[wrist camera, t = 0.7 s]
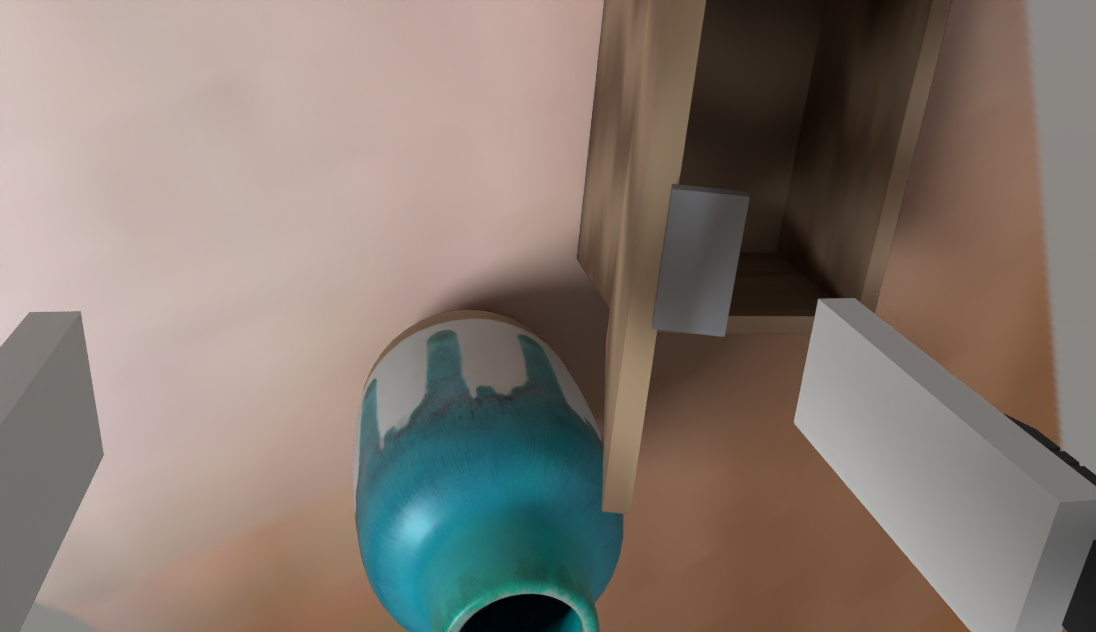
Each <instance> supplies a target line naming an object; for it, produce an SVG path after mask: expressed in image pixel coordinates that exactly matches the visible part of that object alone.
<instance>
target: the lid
mask: <svg viewBox="0 0 1096 632" xmlns="http://www.w3.org/2000/svg"><path fill="white" fill-rule="evenodd" d="M705 4H706V0H648V8H647V16H646V24H645V32H644V40H643V48H642V56H641V64H640V72H639V80H638V89H637V97H636V105H635V113H634V121H633V129H632V137H631V145H630V153H629V161H628V169H627V177H626V185H625V193H624V201H623V209H622V217H621V225H620V233H619V241H618V249H617V257H616V265H615V273H614V282H613V290H612V298H611V306H610V314H609V322H608V330H607V338H606V361H605V404H604V447H603V490H602V511H604V512H613V513H622V514H630V511H631V504H632V498H633V491H634V484H635V477H636V470H637V464H638V457H639V450H640V443H641V437H642V430H643V423H644V416H645V410H646V403H647V396H648V389H649V383H650V376H651V369H652V362H653V356H654V349H655V342H656V335H657V330H665V331H674V332H684V333H693V334H702V335H711V336H721V337H725V332H726V326H727V321H728V315H729V309H730V304H731V298H732V293H733V287H734V282H735V276H736V271H737V265H738V260H739V254H740V248H741V243H742V237H743V232H744V226H745V221H746V215H747V210H748V204H749V199H750V196H749V195H748V193H747V192H746V191H737V190H727V189H717V188H708V187H698V186H688V185H679V180H680V173H681V166H682V160H683V153H684V146H685V139H686V133H687V126H688V119H689V112H690V105H691V99H692V92H693V85H694V78H695V72H696V65H697V58H698V51H699V45H700V38H701V31H702V24H703V18H704V11H705Z"/></svg>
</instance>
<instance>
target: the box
mask: <svg viewBox="0 0 1096 632" xmlns="http://www.w3.org/2000/svg"><path fill="white" fill-rule="evenodd" d="M951 4H952V0H706V4H705V11H704V18H703V24H702V31H701V38H700V45H699V51H698V58H697V65H696V72H695V78H694V85H693V92H692V99H691V105H690V112H689V119H688V126H687V133H686V139H685V146H684V153H683V160H682V166H681V173H680V180H679V185H688V186H698V187H708V188H717V189H727V190H737V191H746V192H747V193H748V195H749V196H750V199H749V204H748V210H747V215H746V221H745V226H744V232H743V237H742V243H741V248H740V254H739V260H738V265H737V271H736V276H735V282H734V287H733V293H732V298H731V304H730V309H729V315H728V321H727V326H726V332H725V334H811V333H812V328H813V323H814V318H815V313H816V308H817V303H818V299H833V298H855V299H856V300H858V301H859V302H860V303H862V304H863V305H864V306H865V307H867V308H868V309H869V310H870V311H872V312H873V313H875V309H876V305H877V301H878V297H879V293H880V289H881V285H882V281H883V277H884V273H885V269H886V265H887V261H888V257H889V253H890V249H891V245H892V241H893V237H894V233H895V229H896V225H897V221H898V217H899V213H900V209H901V205H902V201H903V197H904V193H905V189H906V185H907V181H908V177H909V173H910V169H911V165H912V161H913V156H914V152H915V148H916V144H917V140H918V136H919V132H920V128H921V124H922V120H923V116H924V112H925V108H926V104H927V100H928V96H929V92H930V88H931V84H932V80H933V76H934V72H935V68H936V64H937V60H938V56H939V52H940V48H941V44H942V40H943V36H944V32H945V28H946V24H947V20H948V16H949V12H950V8H951ZM647 8H648V0H604V8H603V18H602V27H601V37H600V46H599V55H598V65H597V74H596V84H595V93H594V103H593V112H592V121H591V131H590V140H589V150H588V159H587V168H586V178H585V187H584V197H583V206H582V215H581V225H580V234H579V244H578V253H577V260H578V261H579V263H580V264H581V266H582V267H583V269H584V271H585V272H586V274H587V275H588V277H589V278H590V280H591V281H592V283H593V284H594V286H595V287H596V289H597V291H598V292H599V294H600V295H601V297H602V298H603V300H604V301H605V303H606V304H607V306H608V307H609V309H610V306H611V298H612V290H613V282H614V273H615V265H616V257H617V249H618V241H619V233H620V225H621V217H622V209H623V201H624V193H625V185H626V177H627V169H628V161H629V153H630V145H631V137H632V129H633V121H634V113H635V105H636V97H637V89H638V80H639V72H640V64H641V56H642V48H643V40H644V32H645V24H646V16H647ZM657 334H693V333H684V332H674V331H665V330H657Z"/></svg>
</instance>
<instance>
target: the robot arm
mask: <svg viewBox="0 0 1096 632" xmlns="http://www.w3.org/2000/svg"><path fill="white" fill-rule="evenodd" d="M794 424H795V425H796V426H797V427H798V428H799V430H800V431H801V432H802V433H803V434H804V435H805V437H806V438H807V439H808V440H809V441H810V442H811V444H812V445H813V446H814V447H815V448H816V450H817V451H818V452H819V453H820V454H821V455H822V457H823V458H824V459H825V460H826V461H827V463H828V464H829V465H830V466H831V467H832V468H833V470H834V471H835V472H836V473H837V474H838V476H839V477H840V478H841V479H842V480H843V481H844V483H845V484H846V485H847V486H848V487H849V488H850V490H851V491H852V492H853V493H854V494H855V496H856V497H857V498H858V499H859V500H860V501H861V503H862V504H863V505H864V506H865V507H866V509H867V510H868V511H869V512H870V513H871V514H872V516H873V517H874V518H875V519H876V520H877V521H878V523H879V524H880V525H881V526H882V527H883V529H884V530H885V531H886V532H887V533H888V534H889V536H890V537H891V538H892V539H893V540H894V542H895V543H896V544H897V545H898V546H899V547H900V549H901V550H902V551H903V552H904V553H905V555H906V556H907V557H908V558H909V559H910V560H911V562H912V563H913V564H914V565H915V566H916V567H917V569H918V570H919V571H920V572H921V573H922V575H923V576H924V577H925V578H926V579H927V580H928V582H929V583H930V584H931V585H932V586H933V588H934V589H935V590H936V591H937V592H938V593H939V595H940V596H941V597H942V598H943V599H944V600H945V602H946V603H947V604H948V605H949V606H950V608H951V609H952V610H953V611H954V612H955V613H956V615H957V616H958V617H959V618H960V619H961V621H962V622H963V623H964V624H965V625H966V626H967V628H968V629H969V630H970V631H971V632H1062V629H1063V627H1064V628H1065V629H1066V630H1067V631H1068V632H1096V475H1095V474H1094V473H1092V472H1091V471H1090V470H1088V469H1087V468H1086V467H1085V466H1080V465H1079V462H1078V461H1077V460H1075V459H1074V458H1073V457H1072V456H1070V455H1069V454H1068V453H1066V452H1065V451H1060V447H1059V446H1057V445H1056V444H1055V443H1053V442H1052V441H1051V440H1049V439H1048V438H1047V437H1045V436H1044V435H1043V434H1042V433H1040V432H1039V431H1038V430H1036V429H1034V428H1032V427H1030V426H1028V425H1026V424H1024V423H1022V422H1020V421H1018V420H1016V419H1014V418H1012V417H1010V416H1008V415H1006V414H1002V413H1001V412H1000V411H999V410H997V409H996V408H995V407H993V406H992V405H991V404H990V403H988V402H987V401H986V400H984V399H983V398H982V397H981V396H979V395H978V394H977V393H976V392H974V391H973V390H972V389H970V388H969V387H968V386H967V385H965V384H964V383H963V382H961V381H960V380H959V379H958V378H956V377H955V376H954V375H952V374H951V373H950V372H949V371H947V370H946V369H945V368H944V367H942V366H941V365H940V364H938V363H937V362H936V361H935V360H933V359H932V358H931V357H929V356H928V355H927V354H926V353H924V352H923V351H922V350H920V349H919V348H918V347H917V346H915V345H914V344H913V343H911V342H910V341H909V340H908V339H906V338H905V337H904V336H903V335H901V334H900V333H899V332H897V331H896V330H895V329H894V328H892V327H891V326H890V325H888V324H887V323H886V322H885V321H883V320H882V319H881V318H879V317H878V316H877V315H876V314H874V313H873V312H872V311H870V310H869V309H868V308H867V307H865V306H864V305H863V304H862V303H860V302H859V301H858V300H856V299H855V298H833V299H818V303H817V308H816V313H815V318H814V323H813V328H812V333H811V338H810V343H809V348H808V353H807V359H806V364H805V369H804V374H803V379H802V384H801V389H800V394H799V399H798V404H797V409H796V414H795V419H794ZM103 455H104V453H103V447H102V441H101V435H100V429H99V422H98V416H97V410H96V404H95V398H94V391H93V385H92V379H91V373H90V367H89V360H88V354H87V348H86V342H85V336H84V329H83V323H82V317H81V311H75V312H29V313H28V315H27V316H26V317H25V318H24V319H23V321H22V322H21V323H20V324H19V325H18V327H17V328H16V329H15V330H14V331H13V333H12V334H11V335H10V336H9V337H8V339H7V340H6V341H5V342H4V343H3V345H2V346H1V347H0V632H19V631H20V630H21V627H22V625H23V623H24V621H25V619H26V617H27V615H28V613H29V611H30V609H31V606H32V604H33V602H34V600H35V598H36V596H37V594H38V592H39V590H40V588H41V585H42V583H43V581H44V579H45V577H46V575H47V573H48V571H49V569H50V567H51V564H52V562H53V560H54V558H55V556H56V554H57V552H58V550H59V548H60V546H61V543H62V541H63V539H64V537H65V535H66V533H67V531H68V529H69V527H70V525H71V522H72V520H73V518H74V516H75V514H76V512H77V510H78V508H79V506H80V504H81V501H82V499H83V497H84V495H85V493H86V491H87V489H88V487H89V485H90V483H91V480H92V478H93V476H94V474H95V472H96V470H97V468H98V466H99V464H100V462H101V459H102V457H103Z"/></svg>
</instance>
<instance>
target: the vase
mask: <svg viewBox="0 0 1096 632" xmlns="http://www.w3.org/2000/svg"><path fill="white" fill-rule="evenodd" d="M603 447H604V441H603V438H602V436H601V433H600V431H599V428H598V426H597V424H596V422H595V419H594V417H593V415H592V412H591V410H590V408H589V406H588V404H587V402H586V400H585V398H584V396H583V394H582V393H581V391H580V389H579V387H578V386H577V384H576V382H575V381H574V379H573V378H572V376H571V374H570V373H569V371H568V370H567V368H566V367H565V365H564V364H563V362H562V361H561V359H560V358H559V356H558V355H557V354H556V353H555V352H554V351H553V349H552V348H551V347H550V346H549V345H548V344H547V343H546V342H545V341H544V340H543V338H541V337H540V336H539V335H537V334H536V333H535V332H534V331H532V330H531V329H530V328H528V327H527V326H525V325H523V324H522V323H520V322H518V321H516V320H514V319H512V318H509V317H506V316H504V315H501V314H498V313H492V312H487V311H482V310H457V311H449V312H445V313H441V314H437V315H434V316H431V317H429V318H427V319H424V320H422V321H420V322H418V323H416V324H415V325H413V326H411V327H410V328H408V329H406V330H405V331H404V332H402V333H401V334H400V335H399V336H398V337H396V338H395V339H394V340H393V341H392V342H391V343H390V344H389V345H388V346H387V347H386V349H385V350H384V351H383V352H382V353H381V355H380V356H379V358H378V359H377V361H376V363H375V364H374V366H373V368H372V369H371V371H370V374H369V376H368V378H367V381H366V383H365V386H364V389H363V393H362V397H361V401H360V405H359V410H358V416H357V422H356V429H355V440H354V460H353V494H354V512H355V521H356V529H357V535H358V542H359V548H360V553H361V558H362V562H363V565H364V568H365V571H366V574H367V577H368V580H369V582H370V585H371V587H372V589H373V591H374V593H375V595H376V596H377V598H378V599H379V601H380V603H381V604H382V606H383V607H384V608H385V609H386V610H387V612H388V613H389V614H390V615H391V616H392V617H393V618H394V619H395V620H396V622H397V623H398V624H399V625H401V626H402V627H403V628H404V629H406V630H407V631H408V632H599V622H598V617H597V612H596V608H595V602H596V601H597V600H598V598H599V597H600V596H601V594H602V593H603V592H604V590H605V589H606V587H607V585H608V583H609V581H610V580H611V578H612V576H613V573H614V570H615V567H616V565H617V562H618V559H619V555H620V551H621V546H622V540H623V514H622V513H613V512H604V511H602V490H603Z"/></svg>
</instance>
